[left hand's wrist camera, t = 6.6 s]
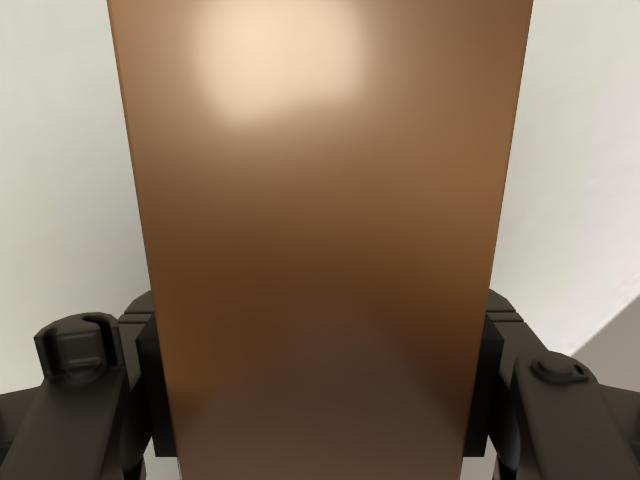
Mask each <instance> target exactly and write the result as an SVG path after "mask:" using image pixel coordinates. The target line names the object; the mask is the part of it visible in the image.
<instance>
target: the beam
mask: <svg viewBox="0 0 640 480" xmlns="http://www.w3.org/2000/svg"><path fill="white" fill-rule="evenodd" d="M107 6H108V12H109V19H110V25H111V32H112V38H113V45H114V51H115V58H116V64H117V70H118V77H119V83H120V90H121V96H122V103H123V109H124V116H125V122H126V129H127V135H128V142H129V148H130V155H131V161H132V168H133V174H134V181H135V187H136V194H137V200H138V207H139V213H140V220H141V226H142V233H143V239H144V246H145V252H146V259H147V265H148V272H149V278H150V285H151V291H152V298H153V304H154V311H155V317H156V324H157V330H158V337H159V343H160V350H161V356H162V363H163V369H164V376H165V382H166V389H167V395H168V402H169V408H170V415H171V421H172V428H173V434H174V441H175V447H176V454H177V460H178V467H179V473H180V480H460V475H461V468H462V462H463V455H464V449H465V442H466V436H467V429H468V422H469V416H470V409H471V403H472V396H473V390H474V383H475V377H476V370H477V364H478V357H479V351H480V344H481V338H482V331H483V325H484V318H485V312H486V305H487V299H488V292H489V286H490V279H491V273H492V266H493V260H494V253H495V247H496V240H497V234H498V227H499V221H500V214H501V208H502V201H503V195H504V188H505V182H506V175H507V169H508V162H509V156H510V149H511V143H512V136H513V130H514V123H515V117H516V110H517V104H518V97H519V91H520V84H521V78H522V71H523V65H524V58H525V52H526V45H527V39H528V32H529V25H530V19H531V12H532V6H533V0H107Z"/></svg>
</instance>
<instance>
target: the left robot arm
mask: <svg viewBox="0 0 640 480" xmlns="http://www.w3.org/2000/svg"><path fill="white" fill-rule="evenodd" d="M33 338H34V341H35V345H36V349H37V352H38V356H39V360H40V363H41V367H42V370H43V374H44V380H43V382H42V384H41V386H38V387H35V388H30V389H25V390H20V391H15V392H10V393H6V394H1V395H0V480H146V468H145V462H144V456H143V454H144V452H145V449H146V447H147V445H148V443H149V441H150V439H151V436H152V439H153V445H154V450H155V456H156V457H177V454H176V447H175V441H174V434H173V428H172V421H171V415H170V408H169V402H168V395H167V389H166V382H165V376H164V369H163V363H162V356H161V350H160V343H159V337H158V330H157V324H156V317H155V311H154V304H153V298H152V291H151V290H149V291H148V292H146V293H145V294H143V295H141V296H140V297H138V298H136V299H135V300H133V302H132V303H131V304H130V305H129V307H128V308H127V309H126V310H125V312H124V314H122V315H121V316H120V318H119V319H118V320H117V319H116V318H115V317H113V316H112V315H110V314H106V313H101V312H92V313H81V314H76V315H71V316H68V317H65V318H63V319H60V320H57V321H54V322H53V323H51V324H49V325H48V326H46V327H44V328H42V329H41V330H40V331H39V332H38V333H37V334H36V335H35V336H34V337H33ZM488 435H489V437H490V439H491V441H492V443H493V446H494V448H495V450H496V452H497V456H496V462H495V467H494V472H493V477H492V480H640V392H635V391H629V390H625V389H619V388H615V387H610V386H605V385H602V384H599V383H598V381H597V379H596V377H595V376H594V375H593V373H592V372H591V371H590V370H589V369H588V368H587V367H586V366H584V365H583V364H582V363H580V362H579V361H577V360H576V359H573V358H571V357H569V356H566V355H564V354H562V353H557V352H553V351H549V350H548V349H547V348H546V347H545V346H544V344H543V343H542V342H541V341H540V340H539V338H538V337H537V336H536V335H535V333H534V332H533V331H532V330H531V328H530V327H529V326H528V325H527V324H526V322H524V320H523V319H522V317H521V316H520V315H519V314H518V313H516V310H515V309H514V307H513V306H512V305H511V304H510V303H509V301H508V300H507V299H506V298H504V297H503V296H501V295H499V294H498V293H496V292H495V291H493V290H491V289H489V292H488V299H487V305H486V312H485V318H484V325H483V331H482V338H481V344H480V351H479V357H478V364H477V370H476V377H475V383H474V390H473V396H472V403H471V409H470V416H469V422H468V429H467V436H466V442H465V449H464V455H463V457H484V454H485V449H486V443H487V437H488Z"/></svg>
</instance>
